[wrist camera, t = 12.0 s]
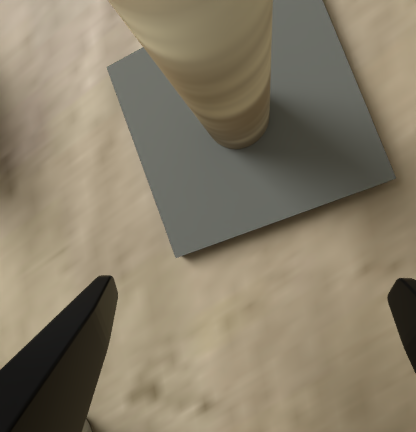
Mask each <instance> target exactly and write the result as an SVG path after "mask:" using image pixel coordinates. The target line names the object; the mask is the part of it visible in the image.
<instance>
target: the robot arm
mask: <svg viewBox="0 0 416 432" xmlns="http://www.w3.org/2000/svg"><path fill="white" fill-rule="evenodd" d="M117 300H118V291H117V288H116V285H115V281H114V278H113V277H112V276H110V275H101V276H98V277H97V278H96V279H95V280H94V281H93V282H92V283H91V284H90V285H89V286H87V287H86V288H85V289H84V290H83V291H82V292H81V293H80V294H79V295H78V296H77V297H76V298H75V299H74V300H73V301H72V302H71V303H70V304H69V305H68V306H67V307H66V308H64V309H63V310H62V311H61V312H60V313H59V314H58V315H57V316H56V317H55V318H54V319H53V320H52V321H51V322H50V323H49V324H48V325H47V326H46V327H45V328H44V329H42V330H41V331H40V332H39V333H38V334H37V335H36V336H35V337H34V338H33V339H32V340H31V341H30V342H29V343H28V344H27V345H26V346H25V347H24V348H23V349H22V350H21V351H19V352H18V353H17V354H16V355H15V356H14V357H13V358H12V359H11V360H10V361H9V362H8V363H7V364H6V365H5V366H4V367H3V368H2V369H1V370H0V432H82V430H83V427H84V424H85V420H86V417H87V414H88V411H89V408H90V404H91V401H92V398H93V395H94V391H95V388H96V385H97V382H98V378H99V375H100V372H101V369H102V366H103V362H104V359H105V356H106V353H107V349H108V345H109V341H110V336H111V331H112V326H113V321H114V315H115V310H116V305H117ZM388 303H389V306H390V309H391V312H392V315H393V318H394V321H395V324H396V327H397V329H398V332H399V335H400V338H401V341H402V344H403V346H404V349H405V351H406V354H407V356H408V358H409V360H410V362H411V365H412V367H413V369H414V371H415V373H416V280H415V279H412V278H399V279H397V280H396V282H395V283H394V285H393V287H392V288H391V290H390V292H389V294H388Z"/></svg>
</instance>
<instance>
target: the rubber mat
mask: <svg viewBox="0 0 416 432" xmlns="http://www.w3.org/2000/svg"><path fill="white" fill-rule="evenodd" d="M107 70H108V73H109V75H110V78H111V81H112V84H113V86H114V89H115V92H116V95H117V97H118V100H119V103H120V106H121V109H122V111H123V114H124V117H125V120H126V122H127V125H128V128H129V131H130V133H131V136H132V139H133V142H134V144H135V147H136V150H137V153H138V155H139V158H140V161H141V164H142V166H143V169H144V172H145V175H146V177H147V180H148V183H149V186H150V188H151V191H152V194H153V197H154V199H155V202H156V205H157V208H158V210H159V213H160V216H161V219H162V221H163V224H164V227H165V230H166V233H167V235H168V238H169V241H170V244H171V246H172V249H173V252H174V255H175V257H176V258H177V257H180V256H183V255H186V254H189V253H191V252H194V251H197V250H200V249H202V248H205V247H208V246H211V245H213V244H216V243H219V242H222V241H225V240H227V239H230V238H233V237H236V236H238V235H241V234H244V233H247V232H249V231H252V230H255V229H258V228H261V227H263V226H266V225H269V224H272V223H274V222H277V221H280V220H283V219H285V218H288V217H291V216H294V215H296V214H299V213H302V212H305V211H308V210H310V209H313V208H316V207H319V206H321V205H324V204H327V203H330V202H332V201H335V200H338V199H341V198H344V197H346V196H349V195H352V194H355V193H357V192H360V191H363V190H366V189H368V188H371V187H374V186H377V185H379V184H382V183H385V182H388V181H391V180H393V179H396V177H395V174H394V172H393V169H392V167H391V164H390V162H389V160H388V157H387V155H386V152H385V150H384V148H383V145H382V143H381V140H380V138H379V135H378V133H377V131H376V128H375V126H374V123H373V121H372V119H371V116H370V114H369V111H368V109H367V107H366V104H365V102H364V99H363V97H362V94H361V92H360V90H359V87H358V85H357V82H356V80H355V78H354V75H353V73H352V70H351V68H350V65H349V63H348V61H347V58H346V56H345V53H344V51H343V49H342V46H341V44H340V41H339V39H338V36H337V34H336V32H335V29H334V27H333V24H332V22H331V20H330V17H329V15H328V12H327V10H326V7H325V5H324V3H323V0H273V10H272V45H271V80H270V115H269V123H268V126H267V129H266V131H265V132H264V134H263V135H262V137H261V138H260V139H259V140H258V141H257V142H255V143H254V144H252V145H250V146H248V147H246V148H242V149H229V148H226V147H223V146H221V145H219V144H218V143H217V142H216V141H214V139H213V138H212V137H211V136H210V134H209V133H208V132H207V130H206V129H205V128H204V126H203V125H202V124H201V123H200V121H199V120H198V119H197V117H196V116H195V115H194V113H193V112H192V111H191V109H190V108H189V107H188V105H187V104H186V103H185V101H184V100H183V99H182V97H181V96H180V95H179V94H178V92H177V91H176V90H175V88H174V87H173V86H172V84H171V83H170V82H169V80H168V79H167V78H166V76H165V75H164V74H163V72H162V71H161V70H160V68H159V67H158V66H157V64H156V63H155V62H154V61H153V59H152V58H151V57H150V55H149V54H148V53H147V51H146V50H145V49H144V47H143V48H141V49H139V50H137V51H135V52H134V53H132V54H130V55H128V56H126V57H124V58H123V59H121V60H119V61H117V62H115V63H113V64H112V65H110V66H108V67H107Z"/></svg>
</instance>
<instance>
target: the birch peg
mask: <svg viewBox="0 0 416 432" xmlns="http://www.w3.org/2000/svg"><path fill="white" fill-rule="evenodd" d="M108 1H109V2H110V4H111V5H112V6H113V8H114V9H115V10H116V12H117V13H118V14H119V16H120V17H121V18H122V20H123V21H124V22H125V24H126V25H127V26H128V28H129V29H130V30H131V32H132V33H133V34H134V35H135V37H136V38H137V39H138V41H139V42H140V43H141V45H142V46H143V47H144V49H145V50H146V51H147V53H148V54H149V55H150V57H151V58H152V59H153V61H154V62H155V63H156V64H157V66H158V67H159V68H160V70H161V71H162V72H163V74H164V75H165V76H166V78H167V79H168V80H169V82H170V83H171V84H172V86H173V87H174V88H175V90H176V91H177V92H178V94H179V95H180V96H181V97H182V99H183V100H184V101H185V103H186V104H187V105H188V107H189V108H190V109H191V111H192V112H193V113H194V115H195V116H196V117H197V119H198V120H199V121H200V123H201V124H202V125H203V126H204V128H205V129H206V130H207V132H208V133H209V134H210V136H211V137H212V138H213V139H214V141H216V142H217V143H218V144H219V145H221V146H223V147H226V148H229V149H242V148H246V147H248V146H250V145H252V144H254V143H255V142H257V141H258V140H259V139H260V138H261V137H262V135H263V134H264V132H265V131H266V129H267V126H268V123H269V115H270V80H271V45H272V10H273V0H108Z"/></svg>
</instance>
